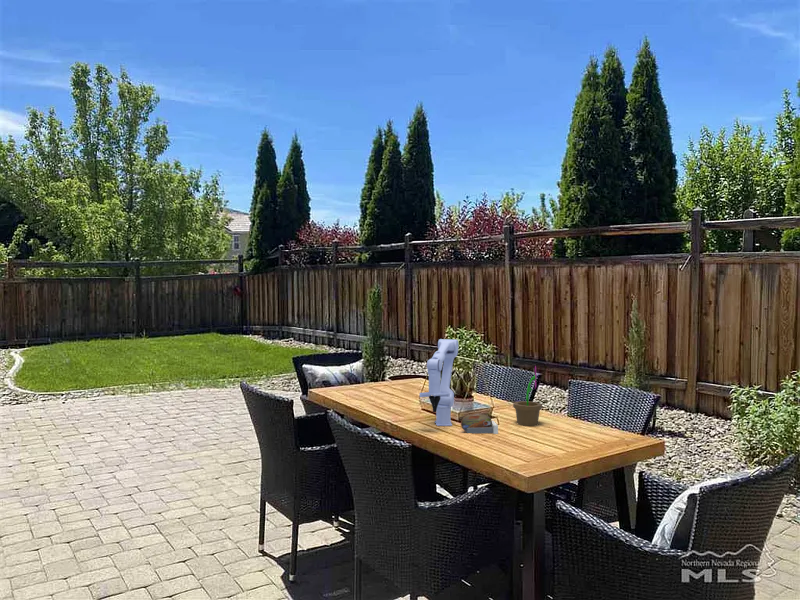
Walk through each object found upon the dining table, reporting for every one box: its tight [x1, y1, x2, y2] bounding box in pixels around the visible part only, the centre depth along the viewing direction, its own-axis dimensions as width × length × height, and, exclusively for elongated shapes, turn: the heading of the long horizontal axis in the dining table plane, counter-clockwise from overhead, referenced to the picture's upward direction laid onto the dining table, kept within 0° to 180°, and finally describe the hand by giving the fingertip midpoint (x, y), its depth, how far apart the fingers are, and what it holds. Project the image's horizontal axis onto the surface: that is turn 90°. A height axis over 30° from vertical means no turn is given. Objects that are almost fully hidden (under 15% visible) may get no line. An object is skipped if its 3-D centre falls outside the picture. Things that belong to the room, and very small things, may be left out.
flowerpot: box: [512, 365, 543, 427], centre depth 300 cm, size 14×14×30 cm
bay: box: [466, 420, 499, 435], centre depth 284 cm, size 10×14×4 cm
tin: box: [460, 413, 493, 433], centre depth 284 cm, size 15×3×8 cm, turn 98°
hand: (434, 411), depth 285 cm, fingers closed
